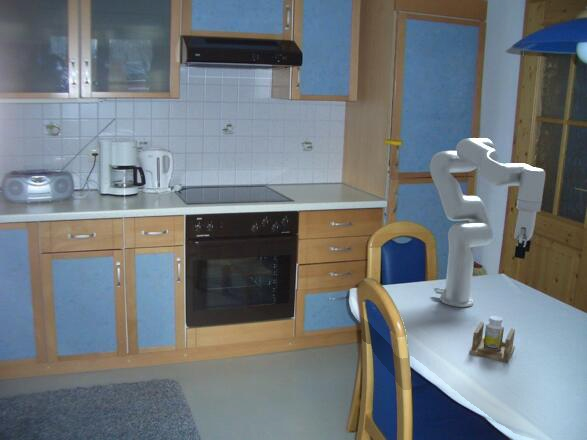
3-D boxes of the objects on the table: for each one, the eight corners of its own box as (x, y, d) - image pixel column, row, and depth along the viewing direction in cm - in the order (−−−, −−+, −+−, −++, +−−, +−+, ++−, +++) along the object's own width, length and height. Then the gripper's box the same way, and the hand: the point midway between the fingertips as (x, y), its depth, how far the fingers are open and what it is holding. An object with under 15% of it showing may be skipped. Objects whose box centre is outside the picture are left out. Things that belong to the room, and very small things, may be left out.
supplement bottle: (494, 343, 209) (498, 314, 207) (504, 350, 204) (508, 320, 202) (479, 345, 207) (483, 315, 205) (489, 352, 202) (493, 322, 200)
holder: (469, 353, 203) (471, 332, 201) (477, 340, 213) (479, 320, 212) (508, 362, 198) (510, 341, 196) (514, 348, 208) (517, 328, 206)
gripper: (521, 199, 221) (515, 246, 225) (512, 208, 206) (505, 258, 210) (544, 202, 217) (537, 250, 221) (536, 211, 202) (529, 262, 207)
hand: (521, 254), depth 216 cm, fingers open, 9 cm apart
